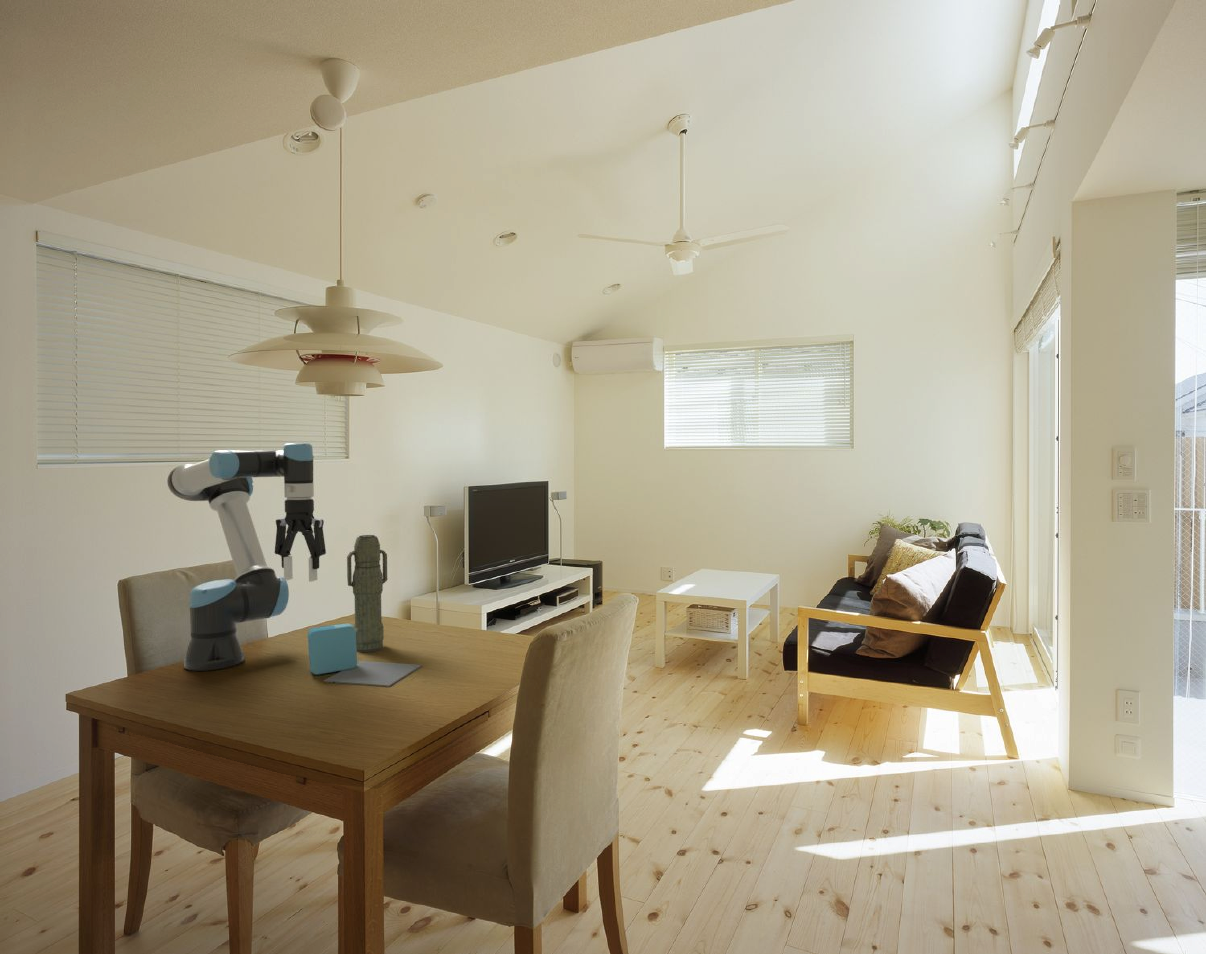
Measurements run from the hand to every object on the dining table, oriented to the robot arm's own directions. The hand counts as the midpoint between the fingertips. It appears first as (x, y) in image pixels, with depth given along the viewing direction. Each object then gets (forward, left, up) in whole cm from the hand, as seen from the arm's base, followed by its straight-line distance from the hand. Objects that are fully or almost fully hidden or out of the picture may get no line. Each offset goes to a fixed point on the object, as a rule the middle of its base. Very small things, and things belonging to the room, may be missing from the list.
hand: (300, 580), depth 199 cm
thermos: (+7, +23, -25) cm, 35 cm away
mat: (+23, 0, -25) cm, 34 cm away
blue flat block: (+10, 0, -25) cm, 27 cm away
